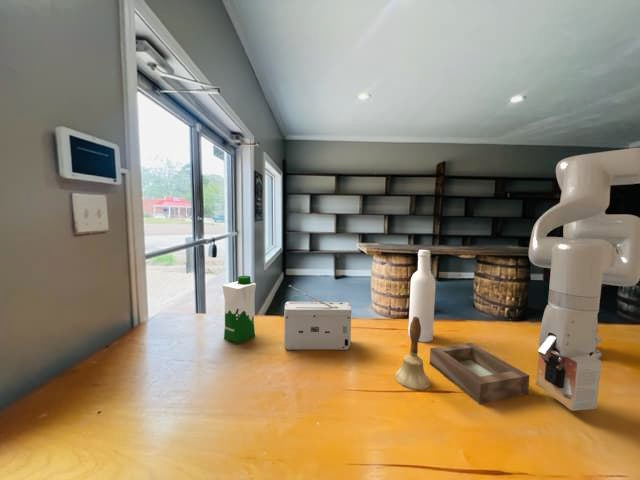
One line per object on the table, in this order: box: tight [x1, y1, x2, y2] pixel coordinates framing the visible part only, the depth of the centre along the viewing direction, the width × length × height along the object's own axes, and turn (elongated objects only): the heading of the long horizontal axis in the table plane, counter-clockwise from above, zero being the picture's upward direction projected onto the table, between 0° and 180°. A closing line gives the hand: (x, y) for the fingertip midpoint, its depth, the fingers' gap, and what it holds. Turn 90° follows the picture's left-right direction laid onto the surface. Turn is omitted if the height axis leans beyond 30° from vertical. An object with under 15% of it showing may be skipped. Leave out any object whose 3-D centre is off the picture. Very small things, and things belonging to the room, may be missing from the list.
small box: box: [535, 346, 603, 412], centre depth 54 cm, size 8×6×10 cm
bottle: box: [407, 249, 436, 343], centre depth 86 cm, size 8×8×30 cm
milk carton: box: [222, 275, 257, 345], centre depth 83 cm, size 9×9×20 cm
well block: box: [429, 342, 530, 405], centre depth 64 cm, size 14×16×4 cm
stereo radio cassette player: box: [283, 284, 352, 351], centre depth 79 cm, size 21×8×20 cm, turn 92°
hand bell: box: [394, 317, 431, 391], centre depth 63 cm, size 8×8×16 cm
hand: (565, 380), depth 54 cm, fingers closed on small box, 6 cm apart
